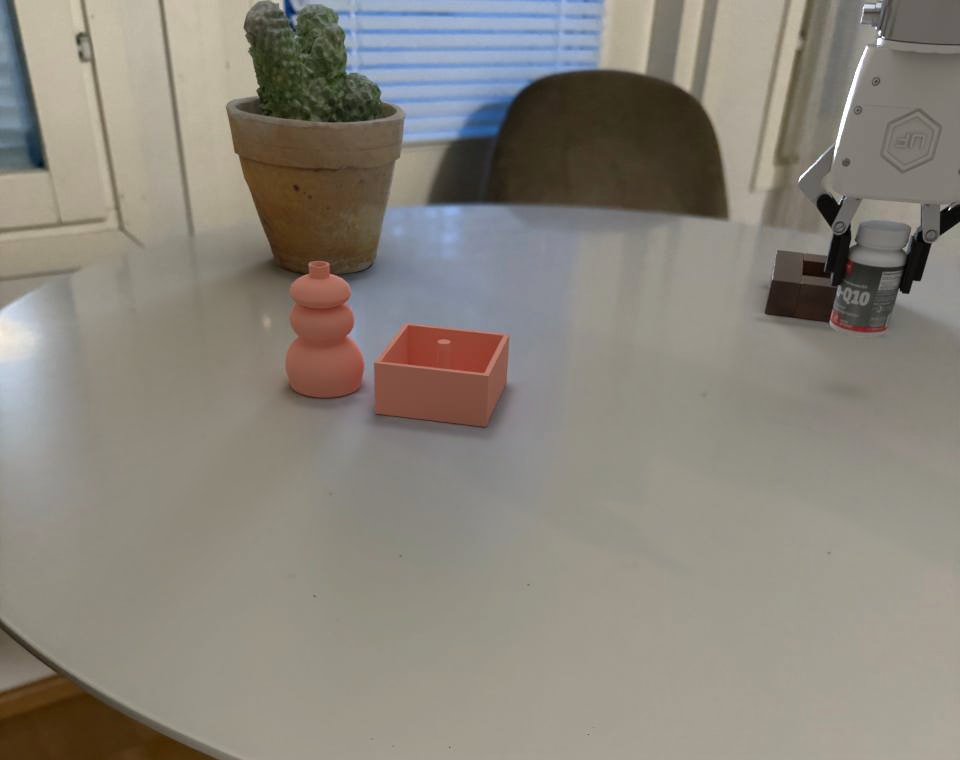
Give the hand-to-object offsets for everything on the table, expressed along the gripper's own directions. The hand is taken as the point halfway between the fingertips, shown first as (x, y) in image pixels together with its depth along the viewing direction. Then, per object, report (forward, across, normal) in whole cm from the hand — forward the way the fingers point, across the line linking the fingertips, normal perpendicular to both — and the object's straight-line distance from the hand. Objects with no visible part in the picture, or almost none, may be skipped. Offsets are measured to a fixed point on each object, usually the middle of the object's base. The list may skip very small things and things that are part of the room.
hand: (869, 283), depth 79 cm
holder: (+9, -2, +24) cm, 26 cm away
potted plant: (+8, -57, +17) cm, 60 cm away
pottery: (+9, -37, -15) cm, 41 cm away
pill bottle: (+4, 0, 0) cm, 4 cm away
